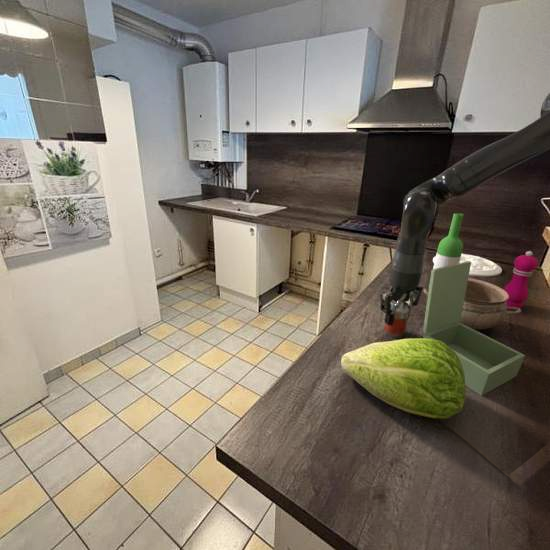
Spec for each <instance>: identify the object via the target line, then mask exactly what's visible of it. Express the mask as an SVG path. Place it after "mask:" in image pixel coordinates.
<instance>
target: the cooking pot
mask: <svg viewBox="0 0 550 550" xmlns="http://www.w3.org/2000/svg"><path fill="white" fill-rule="evenodd" d="M428 292H429V288H423V293H424V294H425V295H426V296H428ZM508 298H509V295H508V293H507V292H506V291H504V290H503V288H501V287H499V286H497V285H495V284H493V283H490V282H487V281H484V280H480V279H475V278H472V277H468V282H467V287H466V293H465V298H464V304H463V309H462V314H461V320H460V321H459V322H460V323H462V324H464V325H466V326H468V327H470V328H472V329H474V330H476V331H478V330H488V329H491V328H495V327H496V326H498V325H500V324H501V323H502V322H504V319H505V318H506V316H514V315H518V314H521V312H522V308H521V309H520V308H516V307H508V306H506V300H507V299H508ZM456 323H457V322H456ZM453 324H454V323H453Z"/></svg>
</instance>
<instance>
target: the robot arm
mask: <svg viewBox="0 0 550 550" xmlns="http://www.w3.org/2000/svg"><path fill="white" fill-rule="evenodd" d="M540 107H541V108H540V114H539V115H540V117H539V118H537V119H536V120H534V121H533V122H531V123H529V124H528V125H526V126H524V127H523V128H521V129H519V130H518V131H516V132H513V133H512V134H509V135H508V136H506V137H504V138H501V139H499V140H497V141H495V142H492V143H490V144H488V145H486V146H484V147H482V148H479V149H478V150H475V151H474V152H472V153H470V154H469V155H468V156H465V157H464V158H462V159H461V160H459V161H458V162H456V163H454V164H453V165H451V166H450V167H449V168H447V169H445V170H444V171H443V172H441V173H440V174H438V175H436V176H434V177H432V178H431V179H428V180H427V181H425V182H423V183H421V184H419V185H417V186H415V187H414V188H413V189H411V190H410V191H408V193H406V195H405V196H404V198H403V201H402V217H401V225H400V230H399V232H398V235H397V240H396V245H395V250H394V254H393V257H392V261H391V268H390V273H389V282H390V289H389V291H387V292H384V291H382V292H381V293H380V311H381V312H383V313H385V315H384V323H385V324H387V325H389V326H391V325H393V320H394V315H395V314H394V313H395V311H396V309H397V308H399V307H400V305H401V304H402V305H405V306H407V307H408V308H409V314H408V319H409V318H410V314H411V310H412V309H413V308H414V307H417V305H418V304H419V301H420V300H421V299H420V298H421V295H422V292H423V291H424V287H423V286H421V285H420V284H421V278H422V275H423V269H424V264H425V255H426V250H427V245H428V241H429V233H430V231H431V228H432V225H433V222H434V219H435V216H436V211H437V207H439V206H440V205H442V204H444V203H446V202H448V201H449V200H453V199H458V198H461V197H463V196H465V195H466V194H469V193H470V192H471V191H473V190H475V189H476V188H479V187H480V186H482V185H484V184H486V183H487V182H489V181H491V180H492V179H494V178H495V177H497V176H499V175H501V174H503V173H505V172H506V171H508V170H510V169H512V168H514V167H517V166H518V165H520V164H521V163H523V162H526V161H528V160H530V159H532V158H534V157H537V156H538V155H540V154H542V153H544V152H546V151H549V150H550V92H549V93H548V94H547V96H546V97H545V98H544V100H543V102H542V104H541V106H540ZM395 303H396V304H395ZM391 305H392V306H393V308H392V310H391Z"/></svg>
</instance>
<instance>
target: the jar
mask: <svg viewBox="0 0 550 550" xmlns="http://www.w3.org/2000/svg"><path fill="white" fill-rule="evenodd" d="M394 303H395V304H396V303H397V302H394ZM392 308H393V306H392V305H391V310H392ZM394 314H395V315H394V320H393V325H391V326H389V325H387V324H386V323H385V324H384V333H385V334H386V336H389V337H390V338H394V339H402V338H403V337H404V336H405V333H406V329H407V324H408V321H409V318H408V314H409V308H408V307H407V306H405V305H403V303H401V305H400V307H399V308H397V309H396V311H395V313H394Z"/></svg>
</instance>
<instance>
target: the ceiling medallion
mask: <svg viewBox="0 0 550 550" xmlns="http://www.w3.org/2000/svg"><path fill="white" fill-rule="evenodd" d="M435 258H436V255H435V256H433V258H432V263H433V264H434V262H435ZM466 261H471V266H470V271H469V277H480V278H481V277H484V278H489V277H497V276H499V275H501V273H502V271H503V268H502V267H501V266H500V265H499V264H497V263H495V262H494V261H492V260H490V259H487V258H484V257H480V256H479V255H472V254H466V253H462V254H461V258H460V262H459V263H462V262H466Z"/></svg>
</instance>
